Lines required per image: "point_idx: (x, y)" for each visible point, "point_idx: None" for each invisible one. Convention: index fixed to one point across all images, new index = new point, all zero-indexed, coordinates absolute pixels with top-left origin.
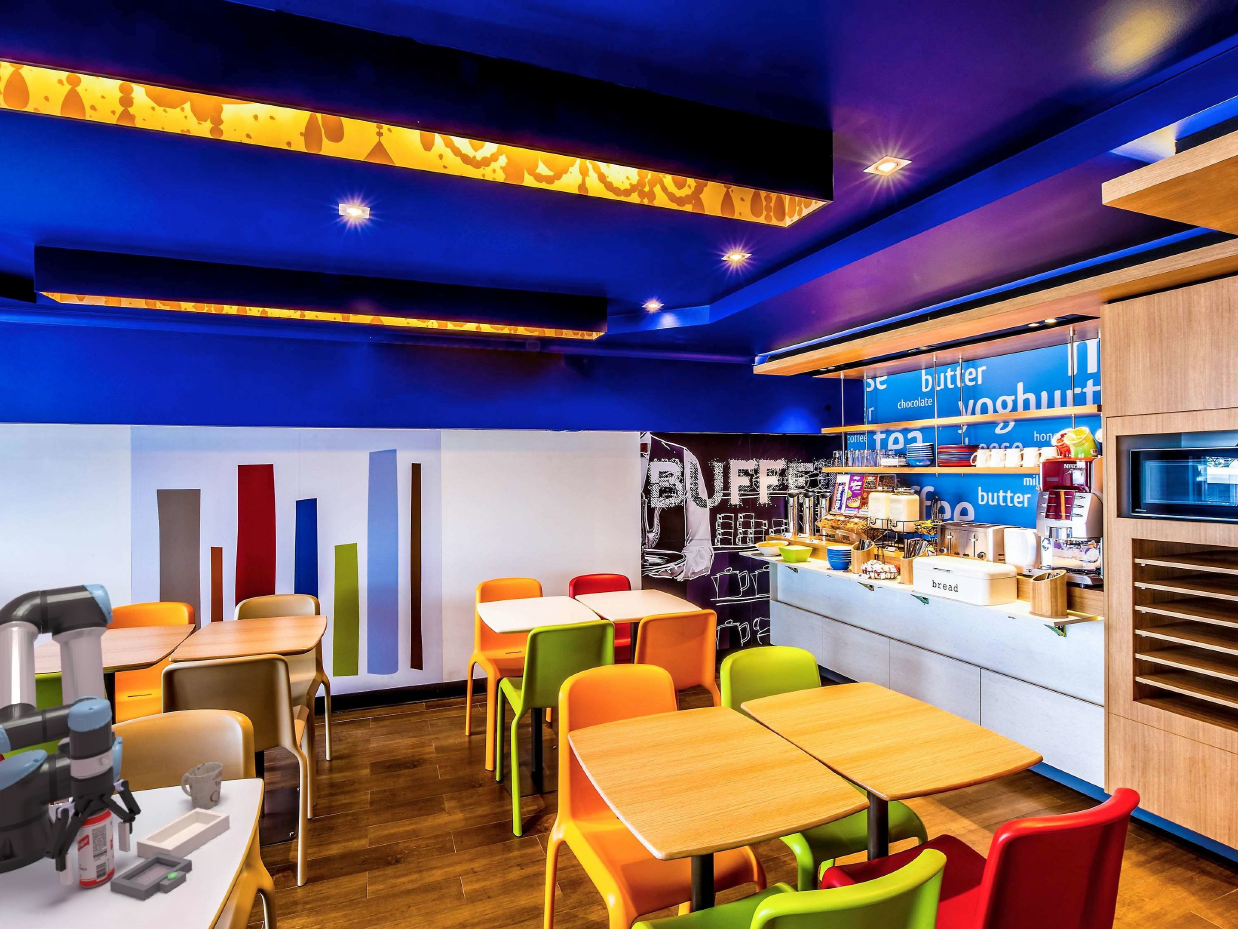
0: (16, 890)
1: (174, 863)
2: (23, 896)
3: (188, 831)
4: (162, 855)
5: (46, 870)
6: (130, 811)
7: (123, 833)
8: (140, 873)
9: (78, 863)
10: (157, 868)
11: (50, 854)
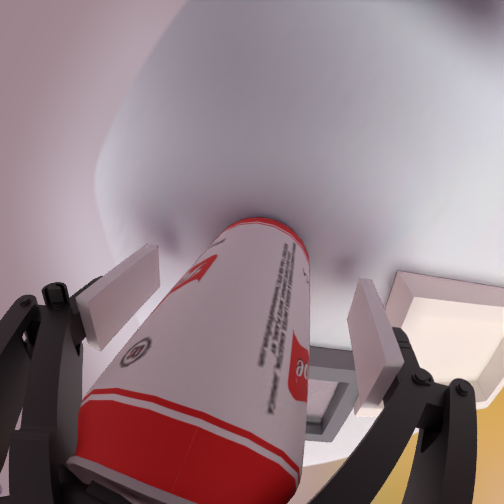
0: (169, 43)
1: (328, 418)
2: (151, 96)
3: (486, 323)
4: (354, 390)
5: (271, 17)
6: (437, 414)
7: (362, 357)
8: None
9: (193, 264)
10: (319, 390)
11: (25, 341)
